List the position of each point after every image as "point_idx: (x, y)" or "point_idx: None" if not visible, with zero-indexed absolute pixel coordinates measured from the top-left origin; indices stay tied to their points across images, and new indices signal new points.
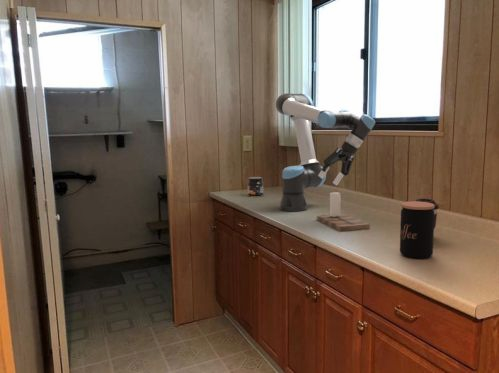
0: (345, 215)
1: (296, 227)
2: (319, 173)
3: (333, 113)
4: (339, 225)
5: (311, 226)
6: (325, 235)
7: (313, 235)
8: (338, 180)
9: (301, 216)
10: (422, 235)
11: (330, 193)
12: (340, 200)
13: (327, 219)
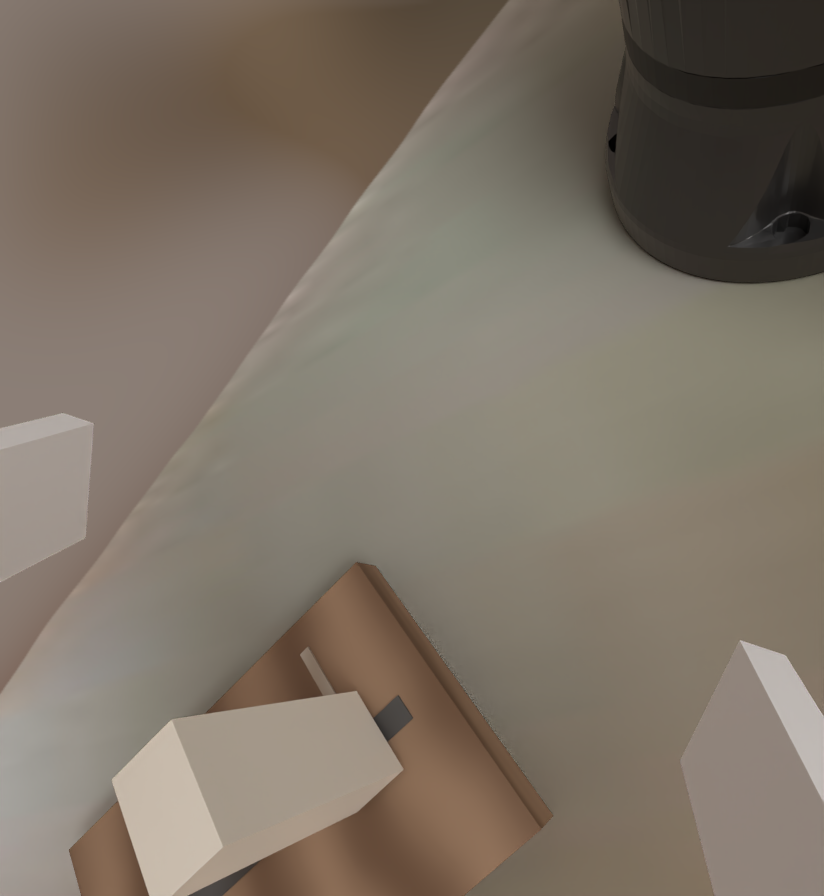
0: (441, 867)
1: (156, 508)
2: (9, 428)
3: None
4: (98, 835)
5: (187, 593)
6: (29, 744)
7: (28, 670)
8: (731, 882)
9: (456, 390)
10: None
11: (163, 730)
12: (238, 870)
13: (248, 695)
